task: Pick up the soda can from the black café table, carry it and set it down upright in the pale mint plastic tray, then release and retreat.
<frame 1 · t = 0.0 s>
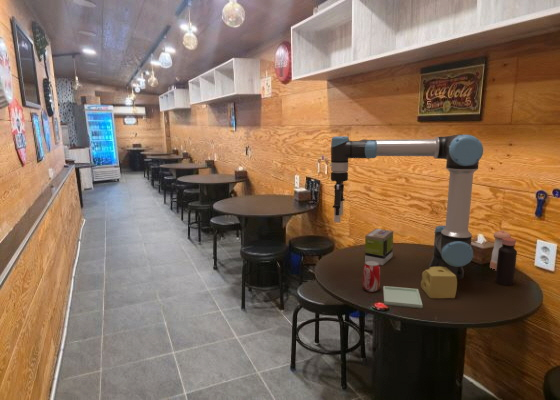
hand: (338, 218, 160), 28 cm above the table, fingers open, 13 cm apart
bottle: (504, 282, 156), on the table
cheese: (437, 293, 147), on the table
soda can: (371, 289, 152), on the table
tea box: (378, 259, 186), on the table
tray: (401, 298, 143), on the table
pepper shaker: (498, 268, 172), on the table
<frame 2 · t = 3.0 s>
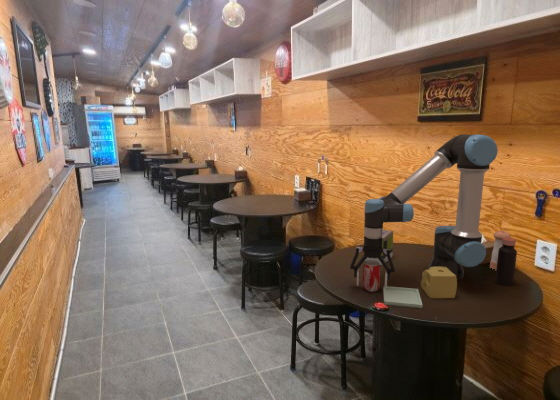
hand: (371, 285, 152), 2 cm above the table, fingers open, 11 cm apart
nothing on the table moved.
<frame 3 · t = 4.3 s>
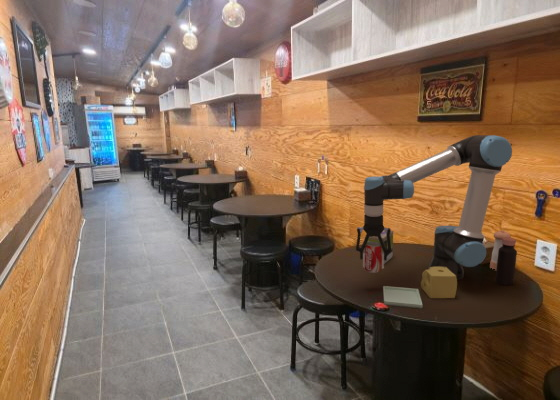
hand: (373, 266, 150), 10 cm above the table, fingers closed on soda can, 7 cm apart
soda can: (372, 271, 151), point 8 cm above the table, touching gripper
everything else where it was.
when the fingers open (3 cm above the table, at t = 8.4 s): soda can stays where it is, resting on tray.
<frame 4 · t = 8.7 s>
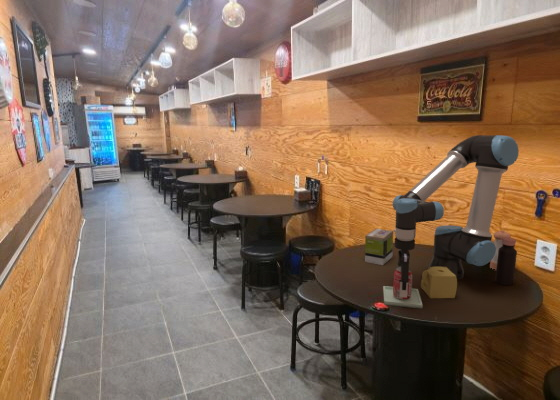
hand: (402, 290, 143), 3 cm above the table, fingers open, 11 cm apart
soda can: (401, 297, 143), resting on tray
everything else where it was.
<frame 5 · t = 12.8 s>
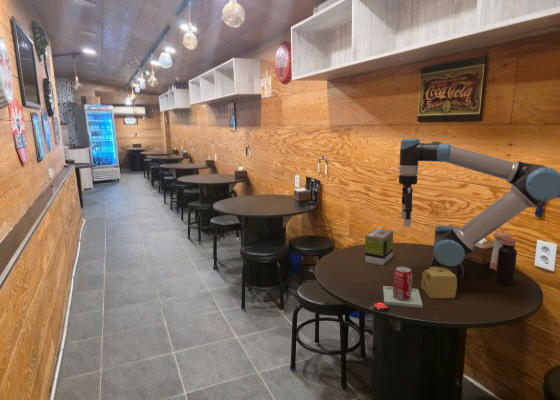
hand: (405, 222, 157), 27 cm above the table, fingers open, 13 cm apart
nothing on the table moved.
at the end: soda can inside the target area on the tray (0.1 cm from its centre), point 0.4 cm above the tray's base; soda can tilted 0°; the gripper is holding nothing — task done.
